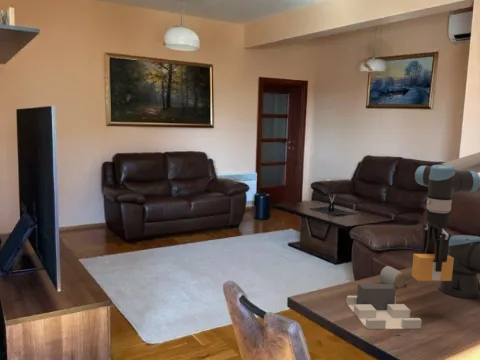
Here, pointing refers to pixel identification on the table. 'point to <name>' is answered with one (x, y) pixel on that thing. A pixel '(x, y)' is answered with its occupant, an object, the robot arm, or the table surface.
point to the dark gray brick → (376, 295)
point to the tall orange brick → (430, 267)
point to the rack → (384, 316)
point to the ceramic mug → (392, 277)
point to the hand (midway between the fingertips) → (431, 277)
